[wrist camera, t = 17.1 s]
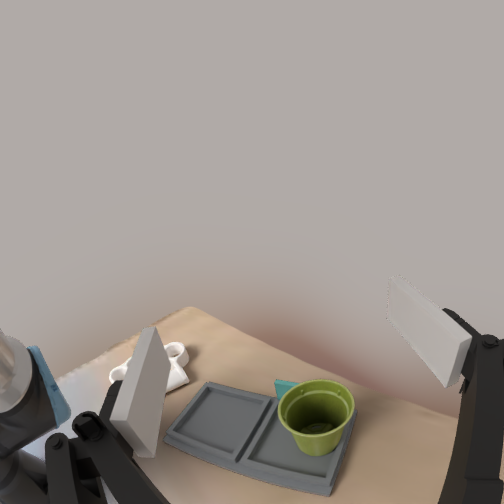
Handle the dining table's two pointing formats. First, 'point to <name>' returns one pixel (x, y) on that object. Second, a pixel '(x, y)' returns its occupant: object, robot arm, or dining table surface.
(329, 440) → the plant pot
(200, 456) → the tray
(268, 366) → the dining table surface
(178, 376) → the knuckle duster
